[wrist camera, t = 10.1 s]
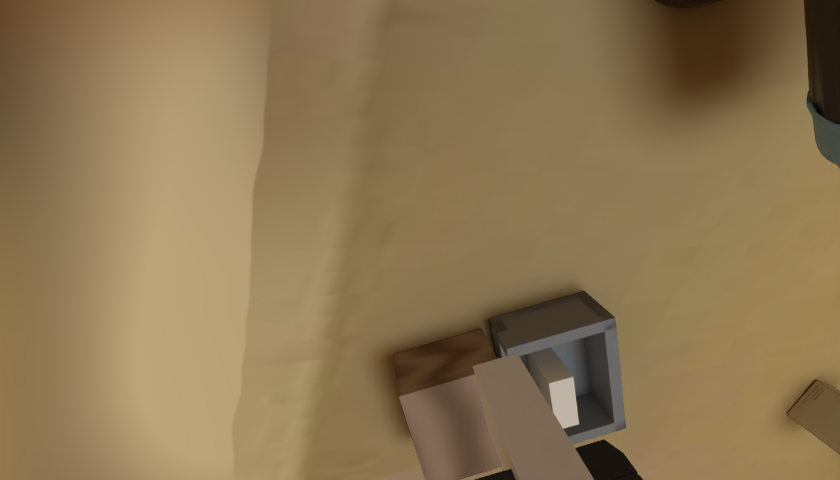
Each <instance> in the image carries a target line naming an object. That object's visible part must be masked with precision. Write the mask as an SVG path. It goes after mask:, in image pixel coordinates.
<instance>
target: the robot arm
mask: <svg viewBox="0 0 840 480" xmlns="http://www.w3.org/2000/svg"><path fill="white" fill-rule="evenodd" d="M656 1H658V2H660V3H662V4H665V5H668V6H672V7H678V8H693V7H699V6H703V5H707V4H710V3H714V2H717V1H721V0H656ZM804 11H805V26H806V40H807V57H808V79H809V91H808V94H807V107H808V109H809V111H810V113H811V114H812V118H813V125H814V133H815V140H816V144H817V147H818V149H819V151H820V152H821V154H822V155H823V156H824V157H825V158H826V159H827V160H829V161H830V162H832V163H834V164H836V165H837V166H838V167H839V168H840V0H804ZM473 369H474V373H475V377H476V381H477V386H478V390H479V394H480V398H481V402H482V406H483V411H484V415H485V419H486V423H487V427H488V431H489V434H490V436H491V439H492V442H493V444H494V447H495V450H496V452H497V455H498V458H499V460H500V463H501V466H502V468H503V471H502V472H499V473H495V474H492V475H489V476H485V477H482V478H479V479H476V480H643V479H642V478H641V477H640V475H638V474H637V471H636V470H635V468H634V467H633V466H632V464H631V463H630V462H629V460H628V459H627V458H626V456H625V455H624V453H622V452H621V451H620V450H618V449H617V448H615V447H614V446H613V445H611V444H610V443H608V442H607V441H605V440H601V441H597V442H594V443H591V444H587V445H584V446H581V447H577V448H575V447H574V446H573V444H572V442H571V441H570V439H569V438H568V436H567V434H566V433H565V431H564V429H563V428H562V426H561V424H560V423H559V421H558V419H557V418H556V416H555V415H554V413H553V411H552V410H551V408H550V406H549V405H548V403H547V401H546V400H545V398H544V396H543V395H542V393H541V391H540V390H539V388H538V387H537V385H536V383H535V382H534V380H533V378H532V377H531V375H530V373H529V372H528V370H527V368H526V367H525V365H524V364H523V362H522V360H521V359H520V357H519V355H518V354H517V353H516V354H513V355H509V356H506V357H502V358H499V359H495V360H492V361H488V362H485V363H481V364H478V365H475V366H473Z"/></svg>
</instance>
